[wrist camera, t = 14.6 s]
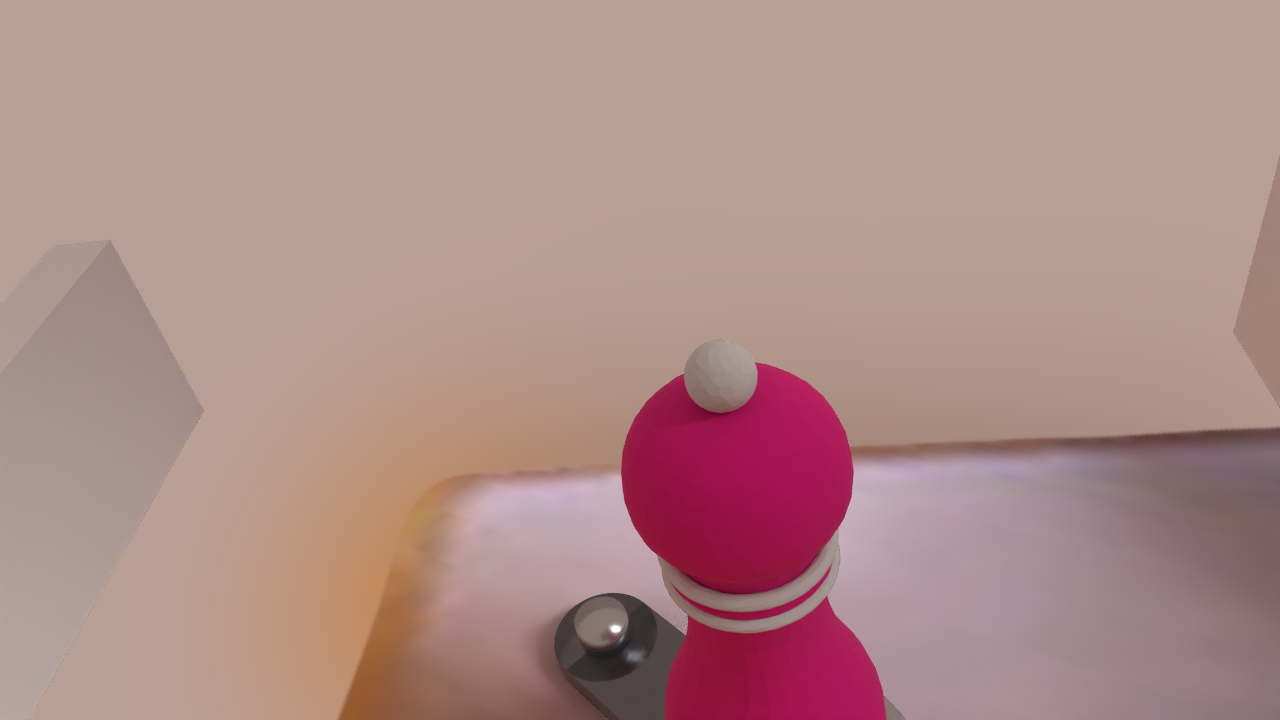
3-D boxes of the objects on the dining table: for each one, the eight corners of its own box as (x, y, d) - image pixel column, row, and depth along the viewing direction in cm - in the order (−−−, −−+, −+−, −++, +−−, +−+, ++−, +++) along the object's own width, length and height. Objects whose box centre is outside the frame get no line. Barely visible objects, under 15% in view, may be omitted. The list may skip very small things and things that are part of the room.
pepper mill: (928, 760, 37) (932, 310, 24) (812, 932, 33) (747, 506, 21) (762, 660, 41) (693, 233, 29) (643, 802, 37) (504, 384, 25)
